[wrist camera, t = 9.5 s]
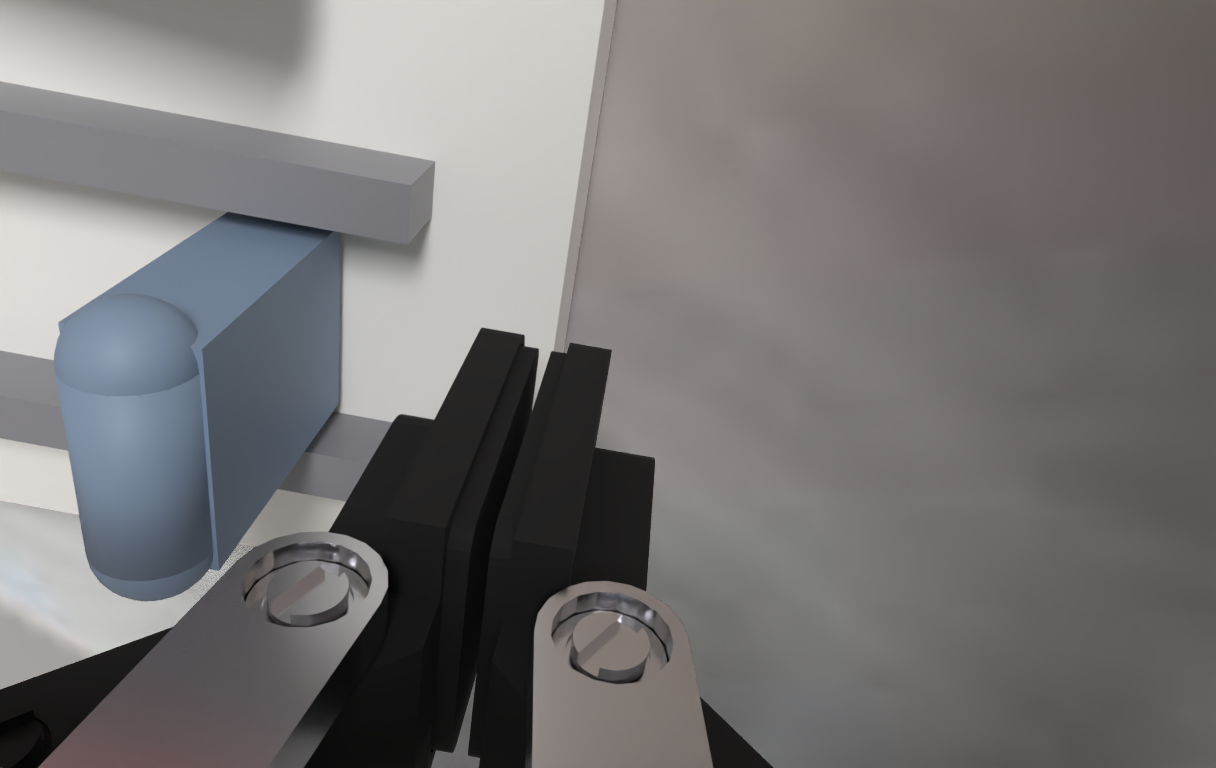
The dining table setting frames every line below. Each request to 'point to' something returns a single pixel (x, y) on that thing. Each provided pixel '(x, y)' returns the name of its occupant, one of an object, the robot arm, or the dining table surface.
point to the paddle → (197, 396)
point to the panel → (296, 189)
